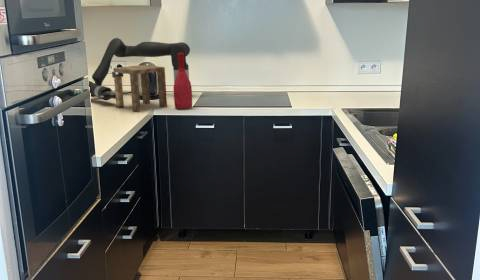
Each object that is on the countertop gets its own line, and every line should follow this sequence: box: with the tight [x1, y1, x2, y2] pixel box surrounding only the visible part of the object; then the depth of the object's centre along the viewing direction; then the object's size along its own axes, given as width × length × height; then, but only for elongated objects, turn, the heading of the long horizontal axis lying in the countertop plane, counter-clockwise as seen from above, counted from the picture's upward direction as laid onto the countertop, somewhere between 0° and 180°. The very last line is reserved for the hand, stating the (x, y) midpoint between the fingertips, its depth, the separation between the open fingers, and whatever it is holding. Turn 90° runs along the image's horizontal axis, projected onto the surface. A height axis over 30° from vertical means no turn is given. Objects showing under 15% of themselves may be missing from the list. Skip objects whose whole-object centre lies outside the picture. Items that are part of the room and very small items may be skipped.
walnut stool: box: [111, 64, 168, 113], centre depth 264 cm, size 21×20×22 cm
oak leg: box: [113, 73, 125, 109], centre depth 266 cm, size 3×3×18 cm
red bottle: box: [173, 53, 193, 110], centre depth 259 cm, size 10×10×30 cm
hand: (118, 97), depth 268 cm, fingers closed
